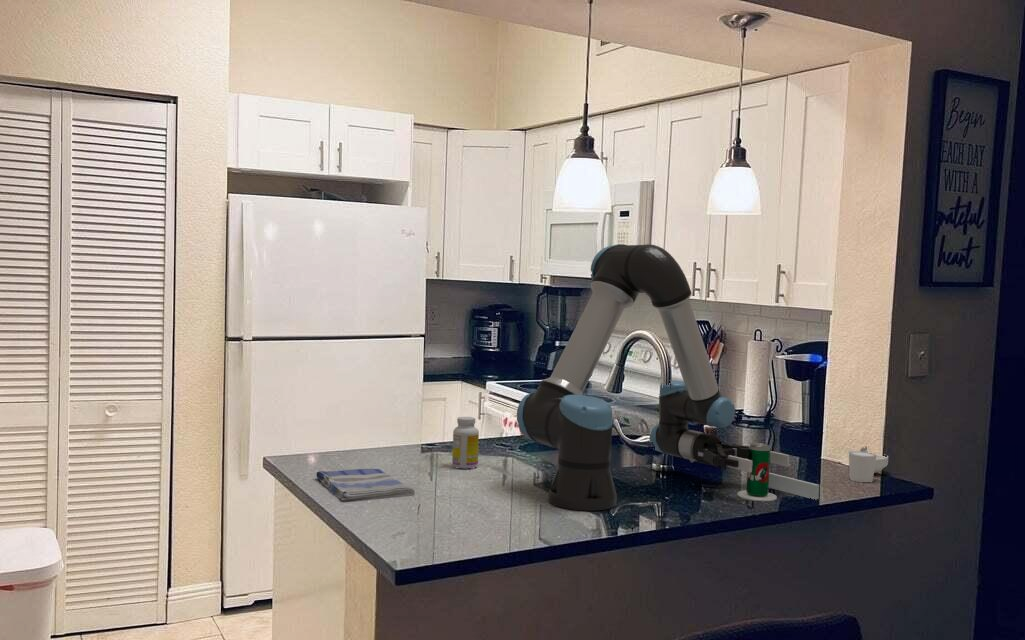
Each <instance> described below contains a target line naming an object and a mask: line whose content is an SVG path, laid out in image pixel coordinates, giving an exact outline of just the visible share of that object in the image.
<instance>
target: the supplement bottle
mask: <svg viewBox="0 0 1025 640" xmlns="http://www.w3.org/2000/svg"><path fill="white" fill-rule="evenodd" d="M456 422H457V427H454V429H453V431H452V461H451V462H452V467H454V468H455V467H458V468H473V467H476V468H477V467H478V465H479V439H480V438H479V435H480V434H479V429H478V428H477V427H475V425H476V418H475V417H472V416H458V417H457V419H456ZM458 468H457V469H458ZM473 469H474V468H473Z"/></svg>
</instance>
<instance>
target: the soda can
mask: <svg viewBox="0 0 1025 640" xmlns="http://www.w3.org/2000/svg"><path fill="white" fill-rule="evenodd" d="M749 445H750V447H749V448H748V460H752V472H751V473H749V472H746V489H745V490H746V492H747V493H748V494H749V495H751V496H755V497H765V496H767V495H768V493H769V489H770V488H769V473H770V469H771V468H770V467H771V466H770V465H771V463H770V452H771V451H772V449H771V448H770V444H766V443H761V442H752V443H750V444H749ZM770 449H771V450H770Z"/></svg>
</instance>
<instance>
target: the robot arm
mask: <svg viewBox="0 0 1025 640" xmlns="http://www.w3.org/2000/svg"><path fill="white" fill-rule="evenodd" d="M590 272H591V273H590V278H591V282H590V289H591V291H592V294H591V296H590V298H589V300H588V302H587V304H586V306H585V308H584V310H583V312H582V313H581V316H580V317H579V320H578V322H577V324H576V326H575V328H574V329H573V331H572V334H571V335H570V338H569V339H568V342H567V343H566V345H565V347H564V349H563V351H562V353H561V355H560V357H559V359H558V361H557V363H556V364H555V367H554V369H553V371H552V373H551V375H550V377H547V378H545V379H541V381H540V382H539V385H538V387H537V389H536V390H535V391H532V392H530V393H528V394H526V395H524V396H523V397H522V399H520V402H519V404H518V405H517V406H518V407H517V410H516V422H517V424H518V429H519V430H520V431H519V432H520V433H521V434H522V435H523V436H524V437H525V438H527V439H528V440H530V441H533V442H534V443H536V444H538V445H545V446H548V447H551V448H555V449H557V450H558V458H557V459H558V460H557V468H556V471H555V474H554V476H553V480H552V482H551V484H550V487H549V491H548V502H549V503H550V504H552V505H554V506H556V507H559V508H563V509H567V510H575V511H593V512H594V511H604V510H608V509H612V508H614V507H616V506H617V499H618V498H617V496H618V495H617V490H616V487H615V483H614V480H613V476H612V472H611V457H612V456H611V454H612V437H613V436H612V435H613V423H614V420H613V410H612V409H613V408H612V406H611V404H610V403H608V402H607V401H606V400H604V399H602V398H599V397H596V396H591V395H590V396H589V395H586V394H583V393H584V391H585V389H586V387H587V385H588V383H589V381H590V379H591V377H592V374H593V373H594V371H595V368H596V366H597V365H598V362H599V360H600V358H601V356H602V355H603V352H604V350H605V348H606V346H607V344H608V343H609V340H610V338H611V336H612V334H613V332H614V330H615V328H616V326H617V324H618V322H619V320H620V318H621V316H622V314H623V313H624V311H625V309H628V308H631V307H633V306H634V303H635V302H636V300H637V297H638V296H639V294H641V293H643V294H646V295H647V296H648V297H649V299H650V302H651V305H652V307H654V308H655V309H657V310H658V311H659V314H660V316H661V320H662V323H663V326H664V328H665V331H666V334H667V337H668V340H669V343H670V347H671V348H672V351H673V354H674V357H675V360H676V364H677V366H678V368H679V372H680V374H681V377H682V380H683V381H682V380H670V381H671V390H670V383H669V385H668V384H667V385H666V384H665V385H663V388H662V382H661V383H660V386H659V395H658V401H659V402H658V408H659V410H658V413H659V415H658V416H659V418H658V419H659V422H658V423H657V424H655V425H654V426H653V427H652V429H651V433H649V442H650V441H652V442H653V444H654V445H655V449H654V451H657V452H660V453H662V454H664V455H668V456H672V457H673V456H674V457H678V458H682V459H685V460H689V462H690V463H694V462H698V463H700V464H704V465H709V466H713V467H715V468H718V467H720V469H721V470H723V471H726V470H727V468H730V469H734V470H738V471H742V472H746V473H747V472H749V473H751V472H752V460H748V448H749V447H750V446H749V445H741V444H737V443H732V444H729V443H722V441H721V439H720V438H719V436H717V435H715V434H711V433H706V432H704V431H703V432H701V431H697V430H693V429H689V427H688V425H689V422H691V423H697V424H699V425H700V424H702V425H705V426H707V427H710V428H712V427H713V428H714V427H715V428H719V429H720V428H727V427H728V426H729V425H731V424H732V422H733V420H734V418H735V415H736V407H735V404H734V402H733V401H732V400H731V399H730V398H727V397H725V396H722V395H721V391H720V389H719V385H718V383H717V379H716V376H715V373H714V370H713V367H712V364H711V360H710V358H709V356H708V352H707V349H706V346H705V343H704V341H703V338H702V334H701V331H700V328H699V326H698V322H697V319H696V316H695V312H694V310H693V307H692V304H691V301H690V298H691V296H692V291H691V286H690V284H689V281H688V279H687V276H686V274H685V273H684V271H683V269H682V268H681V266H680V264H679V263H678V261H677V260H676V259H675V258H674V256H673V255H671V254H670V253H669V252H668V251H667V250H666V249H664V248H663V247H661V246H659V245H655V244H650V243H649V244H648V243H646V244H632V245H631V244H628V245H627V244H623V243H621V244H620V243H619V244H617V243H616V244H614V245H609V246H606V247H604V248H602V249H600V250H599V251H598V252H597V253H596V254H595V256H594V258H593V259H592V261H591V264H590ZM770 450H771V452H770V464H774V465H778V466H783V467H786V468H787V467H790V455H789V454H786V453H781V452H777V451H772V448H770Z"/></svg>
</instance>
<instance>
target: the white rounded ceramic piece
mask: <svg viewBox="0 0 1025 640" xmlns="http://www.w3.org/2000/svg"><path fill="white" fill-rule="evenodd" d="M864 447H865V448H864ZM849 452H867V453H868V451H867V446H863V447H861V449H860V451H856V450H848V453H847V454H849ZM888 464H889V455H887V457H885V456H876V463H875V469H874V474H878V473H879V472H881V471H882V470H883V469H884V468H885V467H887V466H888Z"/></svg>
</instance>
